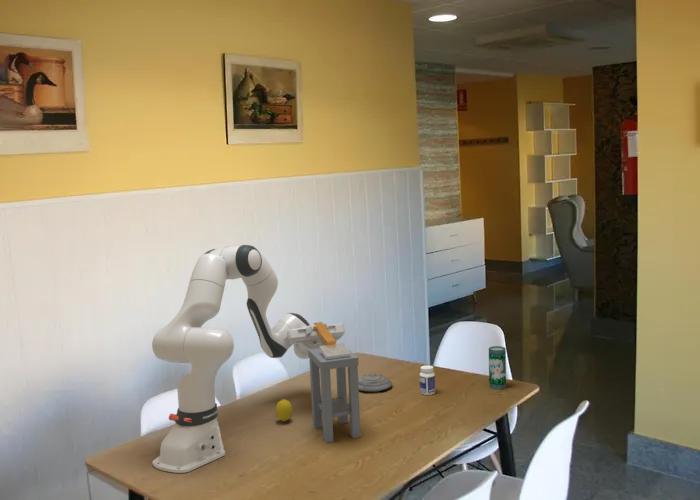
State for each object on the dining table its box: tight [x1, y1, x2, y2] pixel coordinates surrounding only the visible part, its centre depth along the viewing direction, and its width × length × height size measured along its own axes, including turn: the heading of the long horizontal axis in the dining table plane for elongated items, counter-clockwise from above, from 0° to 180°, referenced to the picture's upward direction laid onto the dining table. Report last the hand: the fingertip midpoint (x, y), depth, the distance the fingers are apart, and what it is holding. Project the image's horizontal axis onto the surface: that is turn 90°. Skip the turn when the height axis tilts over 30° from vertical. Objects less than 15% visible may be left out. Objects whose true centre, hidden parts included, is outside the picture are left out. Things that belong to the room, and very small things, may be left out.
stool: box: [308, 348, 361, 444], centre depth 215 cm, size 16×12×26 cm
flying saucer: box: [358, 373, 393, 393], centre depth 258 cm, size 15×15×6 cm
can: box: [488, 345, 507, 391], centre depth 252 cm, size 6×6×15 cm
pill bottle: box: [419, 364, 436, 396], centre depth 249 cm, size 6×6×10 cm
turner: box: [313, 321, 351, 360], centre depth 219 cm, size 24×8×2 cm, turn 18°
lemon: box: [275, 398, 293, 423], centre depth 226 cm, size 6×6×8 cm
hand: (319, 326), depth 227 cm, fingers closed on turner, 3 cm apart
